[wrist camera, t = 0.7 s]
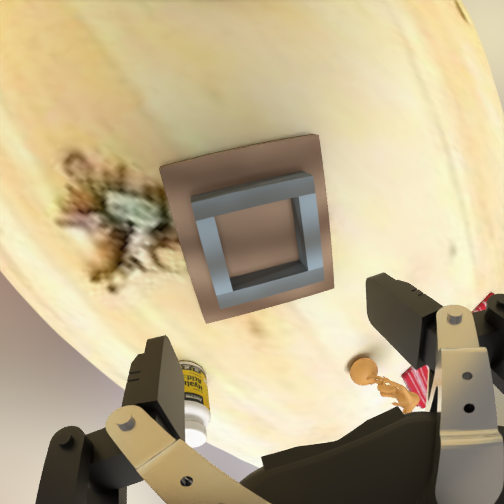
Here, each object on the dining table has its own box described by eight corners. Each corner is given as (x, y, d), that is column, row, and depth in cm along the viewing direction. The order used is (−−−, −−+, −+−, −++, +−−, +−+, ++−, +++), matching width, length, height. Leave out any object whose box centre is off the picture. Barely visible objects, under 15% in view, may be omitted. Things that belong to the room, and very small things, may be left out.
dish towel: (492, 334, 50) (499, 341, 48) (414, 405, 52) (420, 413, 50) (490, 286, 43) (500, 293, 41) (398, 372, 45) (406, 382, 43)
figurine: (336, 355, 39) (376, 421, 28) (373, 330, 38) (421, 390, 28) (354, 382, 42) (389, 440, 32) (386, 361, 42) (426, 414, 31)
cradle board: (161, 166, 25) (156, 172, 22) (312, 134, 27) (330, 136, 23) (205, 315, 32) (207, 338, 29) (328, 281, 34) (344, 300, 30)
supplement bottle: (205, 358, 35) (214, 424, 26) (205, 388, 37) (214, 450, 28) (160, 359, 33) (158, 425, 25) (163, 388, 35) (164, 451, 27)
